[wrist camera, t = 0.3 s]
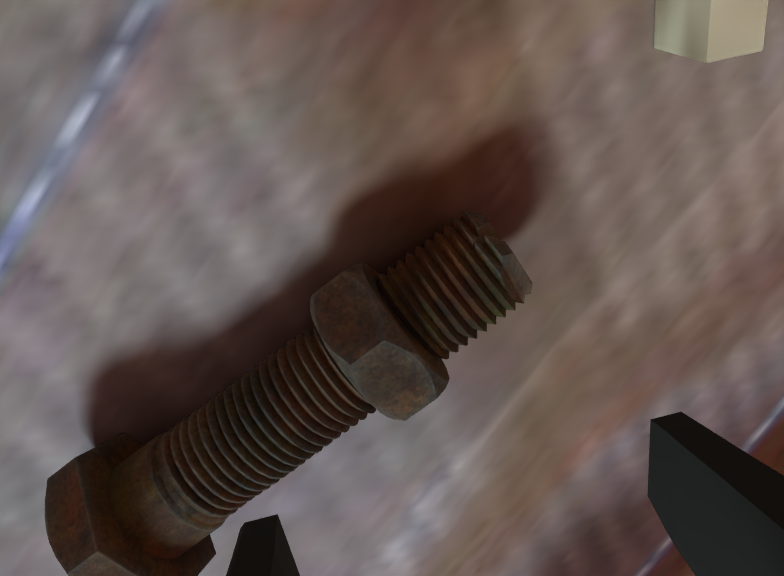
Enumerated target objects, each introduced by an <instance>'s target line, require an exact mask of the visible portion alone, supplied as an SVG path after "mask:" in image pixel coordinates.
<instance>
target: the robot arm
mask: <svg viewBox="0 0 784 576" xmlns="http://www.w3.org/2000/svg"><path fill="white" fill-rule="evenodd" d="M648 497H649V499H650V501H651V503H652V505H653V507H654V508H655V510H656V512H657V514H658V516H659V518H660V520H661V522H662V524H663V525H664V527H665V529H666V531H667V532H668V534H669V536H670V538H671V540H672V541H673V543H674V545H675V546H676V548H677V549H678V551H679V552H680V554H681V555H682V557H683V558H684V560H685V561H686V562H687V564H688V565H689V567H690V568H691V570H692V571H693V572H694V574H695V575H696V576H784V476H783V475H782V474H780V473H778V472H777V471H775V470H773V469H772V468H770V467H768V466H767V465H765V464H763V463H762V462H760V461H759V460H757V459H755V458H754V457H752V456H750V455H749V454H747V453H746V452H744V451H742V450H741V449H739V448H738V447H736V446H734V445H733V444H731V443H730V442H728V441H727V440H725V439H723V438H722V437H720V436H719V435H717V434H716V433H714V432H712V431H711V430H709V429H708V428H706V427H705V426H703V425H701V424H700V423H698V422H697V421H695V420H693V419H692V418H690V417H689V416H687V415H685V414H684V413H682V412H678V413H674V414H670V415H666V416H663V417H659V418H655V419H651V425H650V449H649V474H648ZM226 576H300V574H299V572H298V569H297V566H296V563H295V561H294V558H293V555H292V552H291V550H290V547H289V544H288V542H287V539H286V536H285V533H284V531H283V528H282V525H281V522H280V520H279V517H278V514H277V515H273V516H269V517H265V518H261V519H258V520H254V521H250V522H246V523H244V524H243V526H242V527H241V528H240V532H239V535H238V539H237V543H236V546H235V549H234V552H233V556H232V559H231V562H230V565H229V568H228V571H227V574H226Z"/></svg>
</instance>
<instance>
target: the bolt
mask: <svg viewBox="0 0 784 576" xmlns="http://www.w3.org/2000/svg"><path fill="white" fill-rule="evenodd" d="M531 289H532V282H531V280H530V279H529V277H528V275H527V274H526V272H525V270H524V269H523V267H522V266H521V264H520V263H519V261H518V260H517V258H516V256H515V255H514V253H513V252H512V251H511V249H510V248H509V246H508V245H507V244H506V242H504V241H501V239H500V238H499V236H498V235H497V233H496V232H495V230H494V229H493V227H492V226H491V224H490V222H489V221H488V220H487V219H486V218H485V217H484V215H483V214H481V213H469V212H466V211H462V214H461V220H460V219H457V218H452V227H451V226H448V225H445V224H444V226H443V233H439V232H436V231H434V238H433V241H432V240H428V239H425V243H424V248H423V247H420V246H416V248H415V253H414V254H411V253H407V252H406V257H405V261H402V260H398V259H397V264H396V268H392V267H389V266H387V275H384V274H381V273H379V274H378V273H377V272H376V271H375V270H374V269H372V268H371V267H370V266H369V265H367V264H365V263H359V264H356V265H353V266H352V267H350V268H348V269H346V270H344V271H343V272H341V273H340V274H339V275H337V276H336V277H335V278H333V279H332V280H331V281H329V282H328V283H327V284H325V285H324V286H323V287H321V288H320V289H319V290H318V291H316V292H315V293H314V294H312V297H311V301H310V312H311V316H312V320H313V322H314V328H312V327H306V328H305V334H302V333H298V334H297V335H296V338H295V340H288V341H287V344H286V346H283V347H279V348H278V351H277V353H273V354H270V356H269V358H268V359H265V360H264V361H262V362H261V363H260V364H259V365H257V366H255V367H254V368H253V369H252V370H251V371H250V372H246V373H245V374H244V375H243V377H242V378H240V379H237V380H235V382H234V384H231V385H229V386H227V387H226V389H225V391H221V392H220V393H218V394H217V396H216V397H215V398H212V399H210V400H209V402H208V403H205V404H204V405H202V406H201V407H200V409H199V410H196V411H194V412H193V413H192V414H191V415H190V416H188V417H187V418H186V419H185V420H183V421H182V422H180V423H178V424H177V425H175V427H174V428H172V429H170V430H169V431H168V432H166V433H162V434H160V435H158V436H156V437H155V438H154V439H152V440H151V441H150V442H148V443H147V444H145V445H144V446H143V445H141V444H140V443H138V442H137V441H136V440H134V439H133V438H132V437H130V436H129V435H127V434H126V433H122V434H120V435H118V436H116V437H114V438H112V439H110V440H108V441H106V442H105V443H103V444H101V445H99V446H97V447H95V448H93V449H91V450H89V451H87V452H85V453H83V454H81V455H79V456H77V457H76V458H74V459H73V460H71V461H70V462H69V463H68V464H66V465H65V466H64V467H62V468H61V469H60V470H59V471H57V472H56V473H55V474H53V475H52V476H51V477H49V478H48V480H47V488H46V497H45V523H46V530H47V535H48V539H49V543H50V545H51V547H52V550H53V552H54V554H55V556H56V558H57V560H58V561H59V562H60V564H61V565H62V567H63V568H64V570H65V571H66V573H67V574H68V575H69V576H198V575H199V573H200V572H201V571H202V570H203V569H204V567H205V566H206V565H207V564H208V563H209V562H210V560H211V559H212V558H213V557H214V556H215V554H216V551H215V549H214V546H213V543H212V540H211V537H210V533H212V532H213V531H215V530H216V529H217V528H219V527H220V526H221V525H222V524H223V523H224V521H225V520H226V518H227V517H228V516H229V515H231V514H233V513H235V512H236V510H237V509H238V508H240V507H242V506H243V505H244V504H246V503H247V501H250V500H252V499H253V498H254V497H255V496H256V495H259V494H260V493H262V491H263V490H266V489H268V488H269V487H270V486H271V485H273V484H275V483H277V482H278V481H279V479H280V478H283V477H285V476H286V475H287V474H288V473H290V472H291V471H294V470H295V469H296V468H297V467H298V466H299V465H302V464H303V463H304V462H305V461H306V459H310V458H311V457H312V456H313V455H314V454H315V453H318V452H319V451H321V450H322V448H323V446H327V445H329V444H330V443H331V442H332V441H333V439H336V438H338V437H340V435H341V432H347V431H348V430H349V428H350V426H355V425H357V424H358V421H359V419H360V420H364V419H365V418H366V417H367V413H374V412H375V411H376V409H377V410H378V411H379V412H380V413H382V414H383V415H385V416H387V417H389V418H392V419H396V420H404V421H405V420H407V419H408V418H410V417H411V416H413V415H414V414H415V413H417V412H418V411H420V410H421V409H422V408H424V407H425V406H427V405H428V404H429V403H431V402H432V401H434V400H435V399H437V398H438V397H439V395H440V394H441V393H442V392H443V391H444V389H445V388H446V386H447V384H448V382H449V375H448V372H447V369H446V367H445V365H444V363H443V361H442V359H441V358H443V359H448V358H449V351H451V352H458V344H460V345H465V346H466V345H468V337H470V338H475V339H476V338H477V330H480V331H486V332H487V323H489V324H496V316H498V317H506V309H508V310H515V302H518V303H524V298H525V295H527V294H530V293H531Z"/></svg>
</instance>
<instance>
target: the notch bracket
mask: <svg viewBox="0 0 784 576" xmlns="http://www.w3.org/2000/svg"><path fill="white" fill-rule="evenodd" d="M767 8H768V0H656V3H655V36H654V48H656V49H659V50H663V51H666V52H670V53H673V54H677V55H680V56H684V57H687V58H691V59H694V60H698V61H701V62H705V63H709V62H714V61H718V60H723V59H727V58H732V57H736V56H741V55H745V54H750V53H754V52H759V51H763V44H764V35H765V26H766V17H767Z"/></svg>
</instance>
